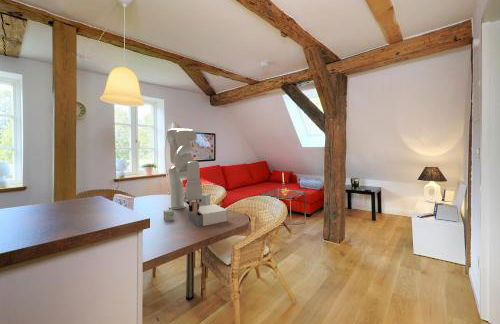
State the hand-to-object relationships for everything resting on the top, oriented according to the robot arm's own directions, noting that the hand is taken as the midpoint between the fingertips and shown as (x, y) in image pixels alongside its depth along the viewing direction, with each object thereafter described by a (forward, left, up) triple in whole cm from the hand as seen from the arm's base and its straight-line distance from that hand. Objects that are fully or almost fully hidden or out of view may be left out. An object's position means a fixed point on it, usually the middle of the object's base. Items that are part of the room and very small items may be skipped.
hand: (193, 210), depth 150 cm
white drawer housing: (0, +10, -8) cm, 13 cm away
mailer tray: (0, +9, -8) cm, 12 cm away
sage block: (-15, -11, -8) cm, 20 cm away
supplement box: (-19, +15, -8) cm, 25 cm away
